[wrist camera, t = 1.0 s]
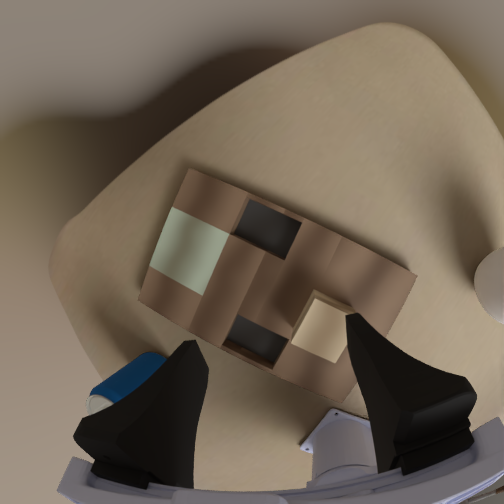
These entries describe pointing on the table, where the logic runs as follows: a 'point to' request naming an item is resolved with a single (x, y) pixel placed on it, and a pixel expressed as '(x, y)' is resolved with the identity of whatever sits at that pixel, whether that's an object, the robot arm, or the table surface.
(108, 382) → the beverage can
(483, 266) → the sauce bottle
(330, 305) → the block
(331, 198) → the table surface
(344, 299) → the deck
